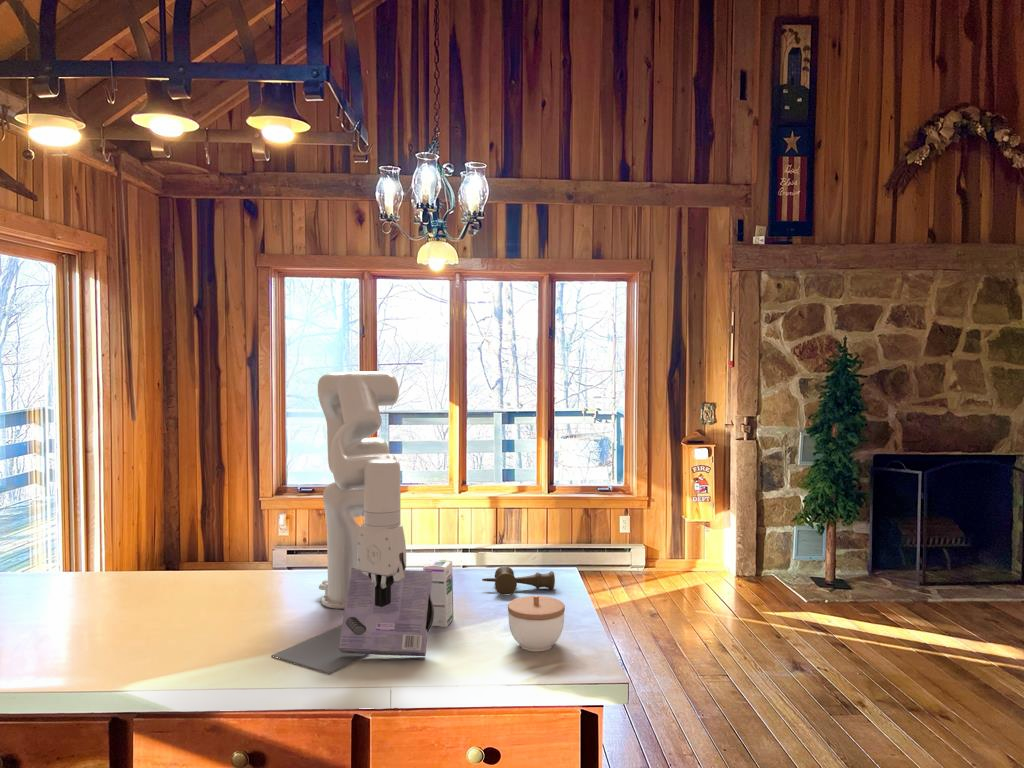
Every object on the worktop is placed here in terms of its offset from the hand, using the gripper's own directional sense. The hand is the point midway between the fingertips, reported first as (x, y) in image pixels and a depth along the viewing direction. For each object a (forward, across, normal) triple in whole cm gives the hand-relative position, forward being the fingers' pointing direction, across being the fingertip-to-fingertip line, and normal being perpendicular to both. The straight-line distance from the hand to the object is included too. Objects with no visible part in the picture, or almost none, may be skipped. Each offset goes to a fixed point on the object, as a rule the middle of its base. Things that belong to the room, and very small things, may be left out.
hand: (382, 604), depth 158 cm
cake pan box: (+11, 0, 0) cm, 11 cm away
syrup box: (+12, -3, +24) cm, 27 cm away
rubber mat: (+12, -13, 0) cm, 18 cm away
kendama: (+12, 0, +56) cm, 57 cm away
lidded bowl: (+12, +24, +24) cm, 36 cm away
